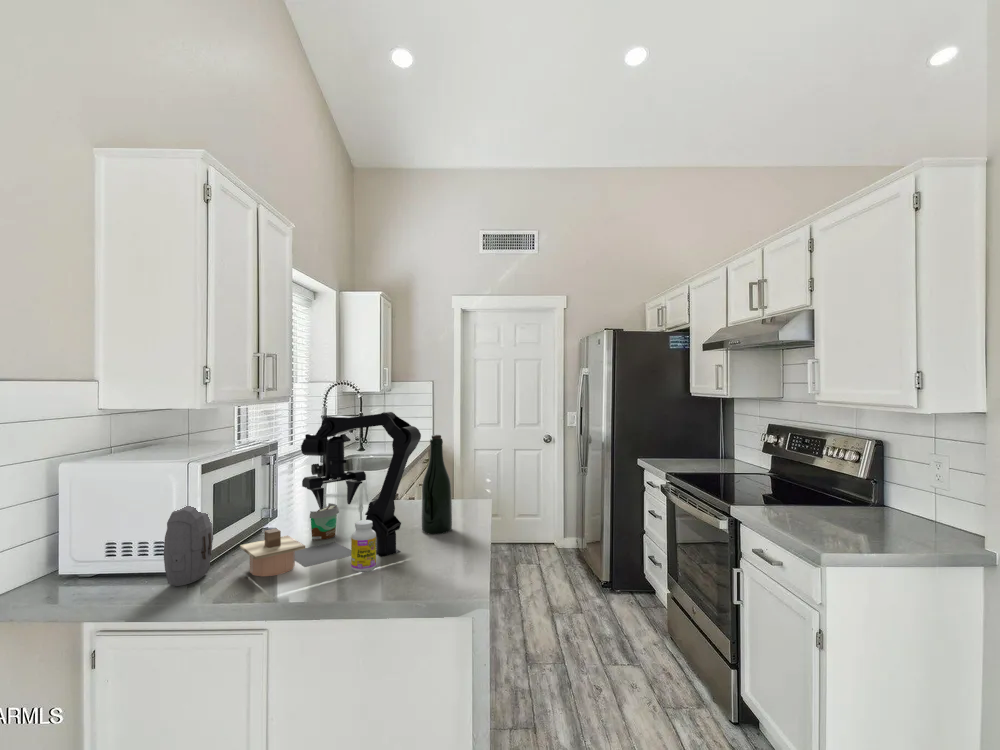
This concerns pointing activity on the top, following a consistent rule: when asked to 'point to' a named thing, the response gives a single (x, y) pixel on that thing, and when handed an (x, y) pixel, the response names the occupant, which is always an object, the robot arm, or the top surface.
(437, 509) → the dark green wine bottle
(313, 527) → the food container
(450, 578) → the top surface
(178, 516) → the small grey backpack
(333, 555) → the mat
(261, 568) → the bowl
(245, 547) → the lid
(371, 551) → the supplement bottle
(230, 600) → the top surface
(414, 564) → the top surface
